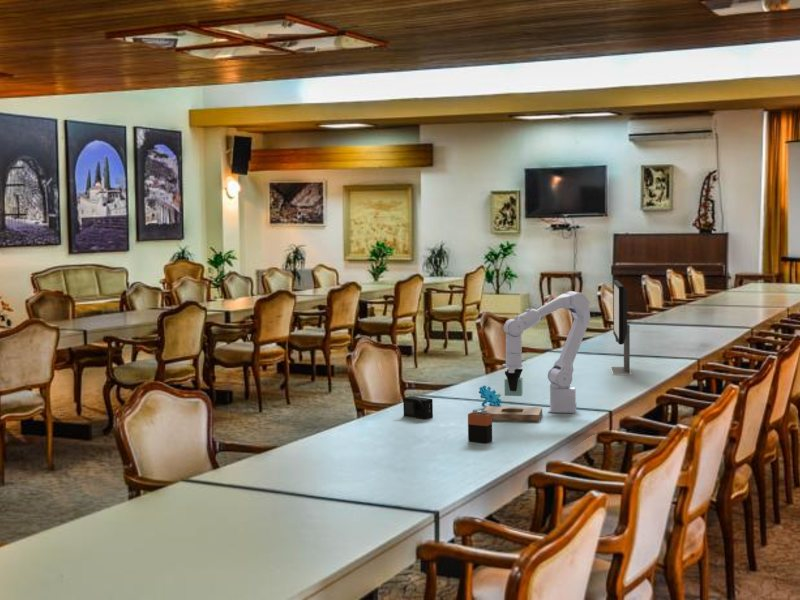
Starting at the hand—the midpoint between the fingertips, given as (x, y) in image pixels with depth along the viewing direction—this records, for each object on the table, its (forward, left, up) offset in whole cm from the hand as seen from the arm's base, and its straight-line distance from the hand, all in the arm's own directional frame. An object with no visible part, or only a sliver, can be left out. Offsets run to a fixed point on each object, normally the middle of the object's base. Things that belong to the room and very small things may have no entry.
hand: (513, 389), depth 381 cm
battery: (+6, +47, -9) cm, 48 cm away
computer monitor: (-37, -105, -9) cm, 112 cm away
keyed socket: (0, +7, -9) cm, 11 cm away
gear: (+10, -14, -9) cm, 20 cm away
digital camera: (+34, +10, -9) cm, 37 cm away
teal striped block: (0, 0, -2) cm, 2 cm away
